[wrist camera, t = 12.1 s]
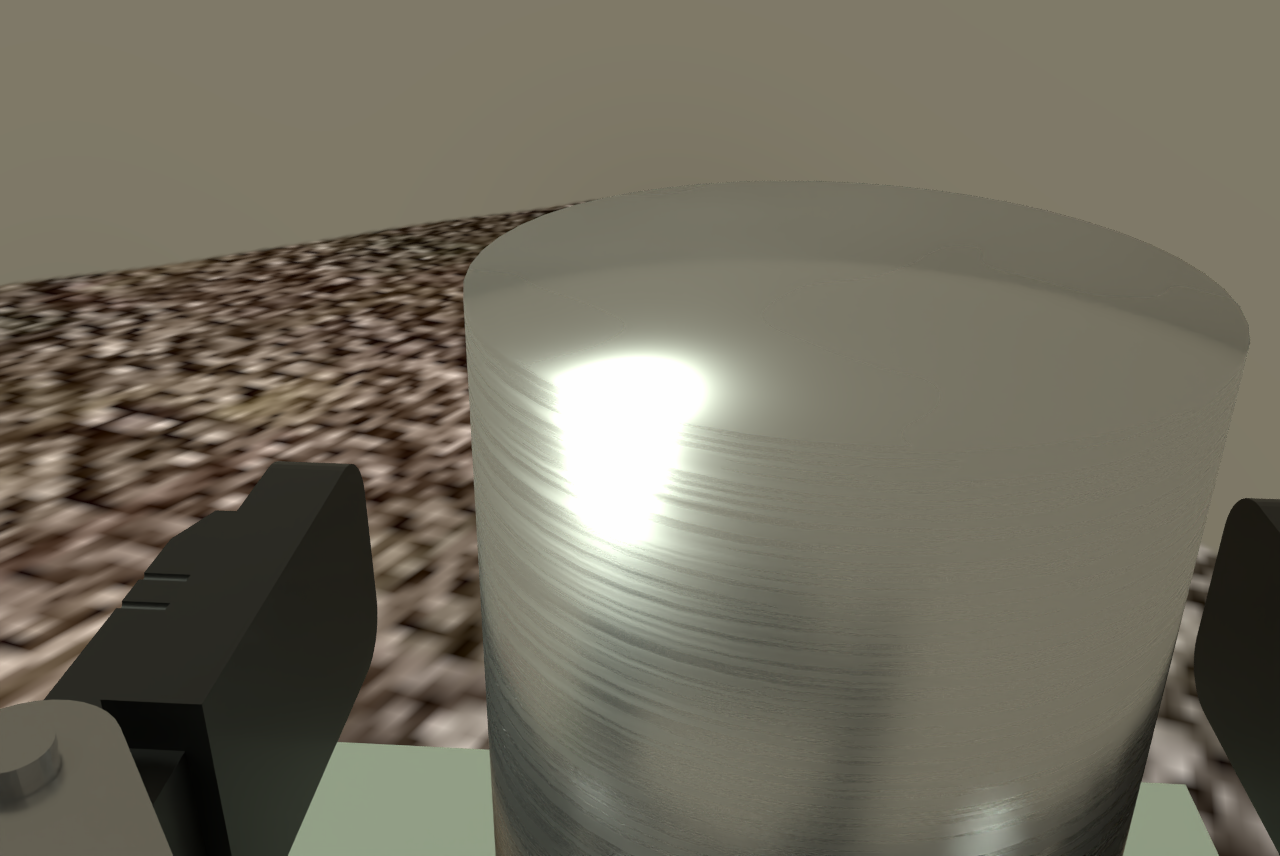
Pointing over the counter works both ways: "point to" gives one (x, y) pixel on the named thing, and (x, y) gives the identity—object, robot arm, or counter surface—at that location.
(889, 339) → the steel shaft
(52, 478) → the counter surface
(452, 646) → the counter surface
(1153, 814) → the pale green square frame
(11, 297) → the counter surface
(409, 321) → the counter surface
